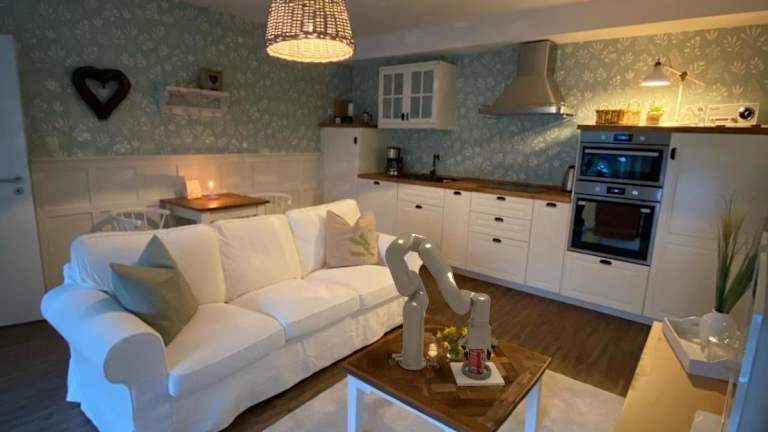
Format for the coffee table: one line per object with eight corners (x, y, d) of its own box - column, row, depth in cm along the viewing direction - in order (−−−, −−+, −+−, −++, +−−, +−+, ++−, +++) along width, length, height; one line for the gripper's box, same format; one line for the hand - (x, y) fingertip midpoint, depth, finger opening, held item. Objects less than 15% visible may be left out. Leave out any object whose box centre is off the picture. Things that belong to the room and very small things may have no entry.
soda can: (483, 368, 181) (484, 343, 179) (484, 377, 174) (486, 352, 172) (467, 367, 182) (468, 342, 180) (468, 376, 175) (469, 351, 173)
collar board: (457, 385, 170) (458, 378, 170) (449, 364, 186) (450, 358, 185) (504, 385, 171) (505, 378, 171) (492, 364, 187) (493, 358, 186)
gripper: (461, 326, 170) (459, 363, 173) (502, 326, 171) (499, 363, 174) (457, 318, 177) (455, 354, 181) (496, 318, 178) (493, 354, 181)
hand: (477, 358), depth 177 cm, fingers open, 9 cm apart
